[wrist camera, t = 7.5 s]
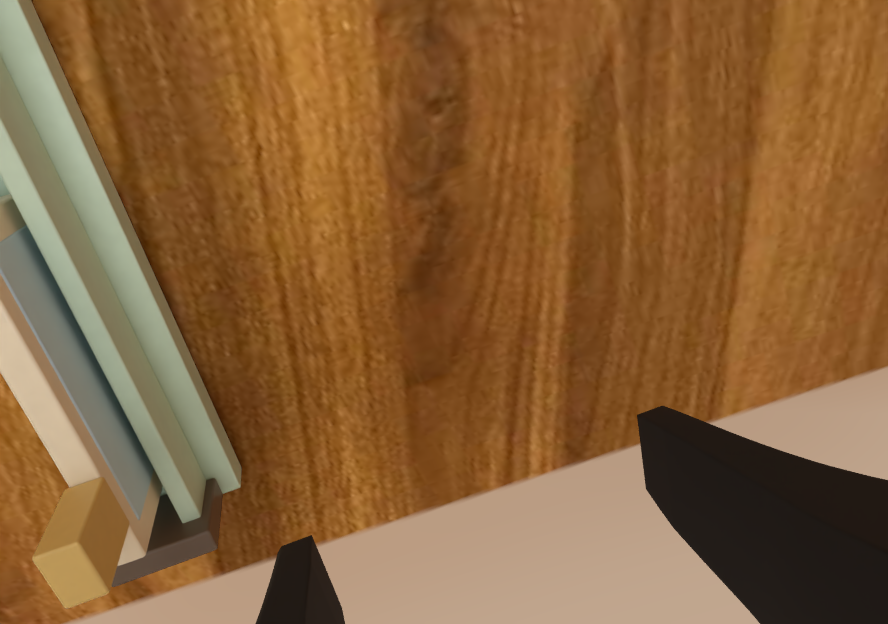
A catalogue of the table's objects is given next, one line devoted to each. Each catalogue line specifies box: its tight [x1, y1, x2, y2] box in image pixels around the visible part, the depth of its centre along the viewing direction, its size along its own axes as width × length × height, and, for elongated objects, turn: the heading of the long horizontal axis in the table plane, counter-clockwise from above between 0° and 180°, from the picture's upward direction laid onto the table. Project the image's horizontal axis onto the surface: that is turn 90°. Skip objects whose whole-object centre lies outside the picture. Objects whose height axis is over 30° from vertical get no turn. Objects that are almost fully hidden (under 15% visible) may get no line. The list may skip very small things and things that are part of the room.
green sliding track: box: [0, 0, 242, 587], centre depth 16 cm, size 21×4×4 cm, turn 13°
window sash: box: [0, 194, 163, 609], centre depth 16 cm, size 10×1×6 cm, turn 13°
